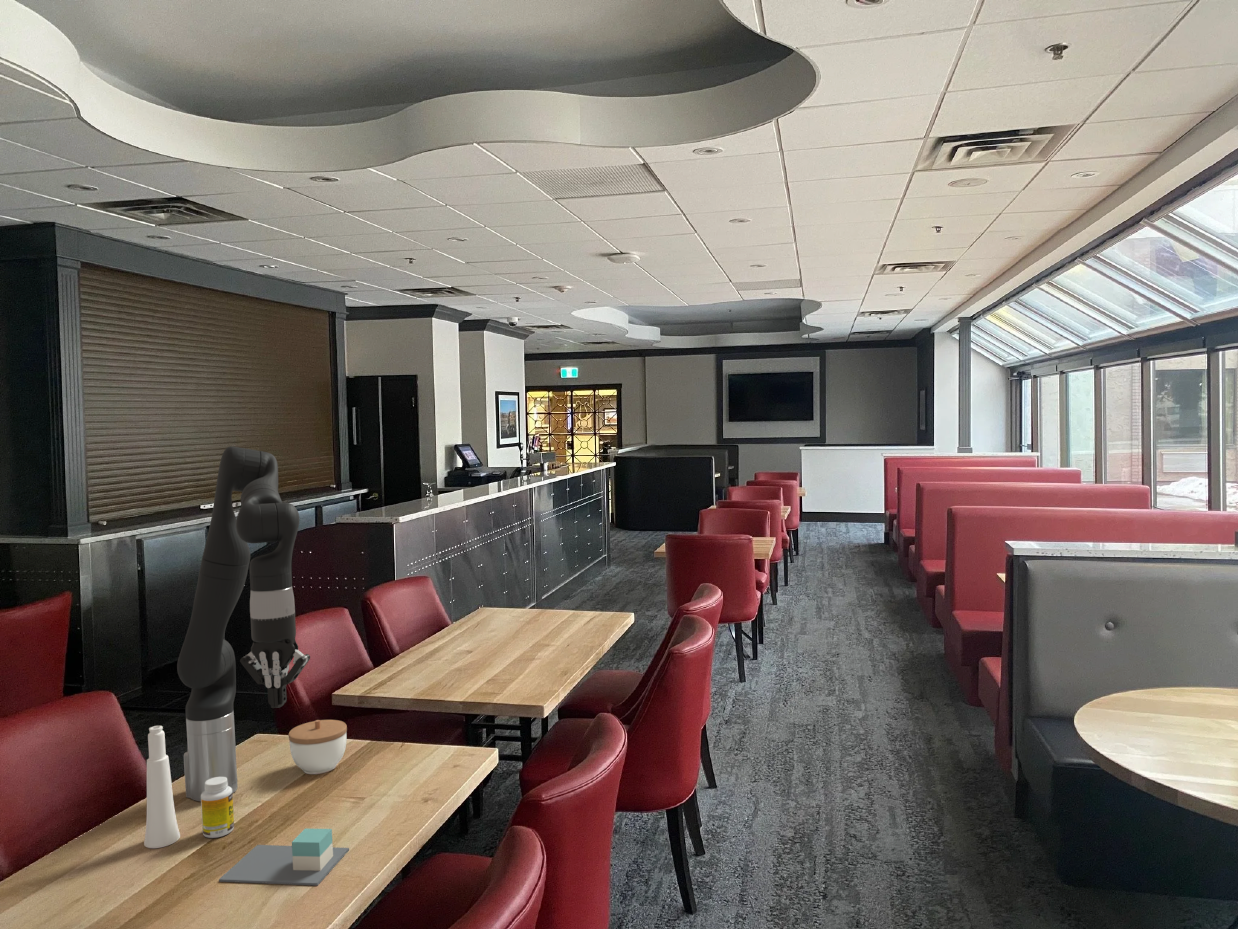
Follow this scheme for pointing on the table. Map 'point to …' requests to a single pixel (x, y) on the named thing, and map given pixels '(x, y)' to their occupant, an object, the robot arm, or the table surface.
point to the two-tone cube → (312, 849)
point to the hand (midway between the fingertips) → (277, 706)
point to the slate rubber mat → (277, 867)
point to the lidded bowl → (318, 745)
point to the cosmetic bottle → (159, 794)
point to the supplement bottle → (217, 808)
